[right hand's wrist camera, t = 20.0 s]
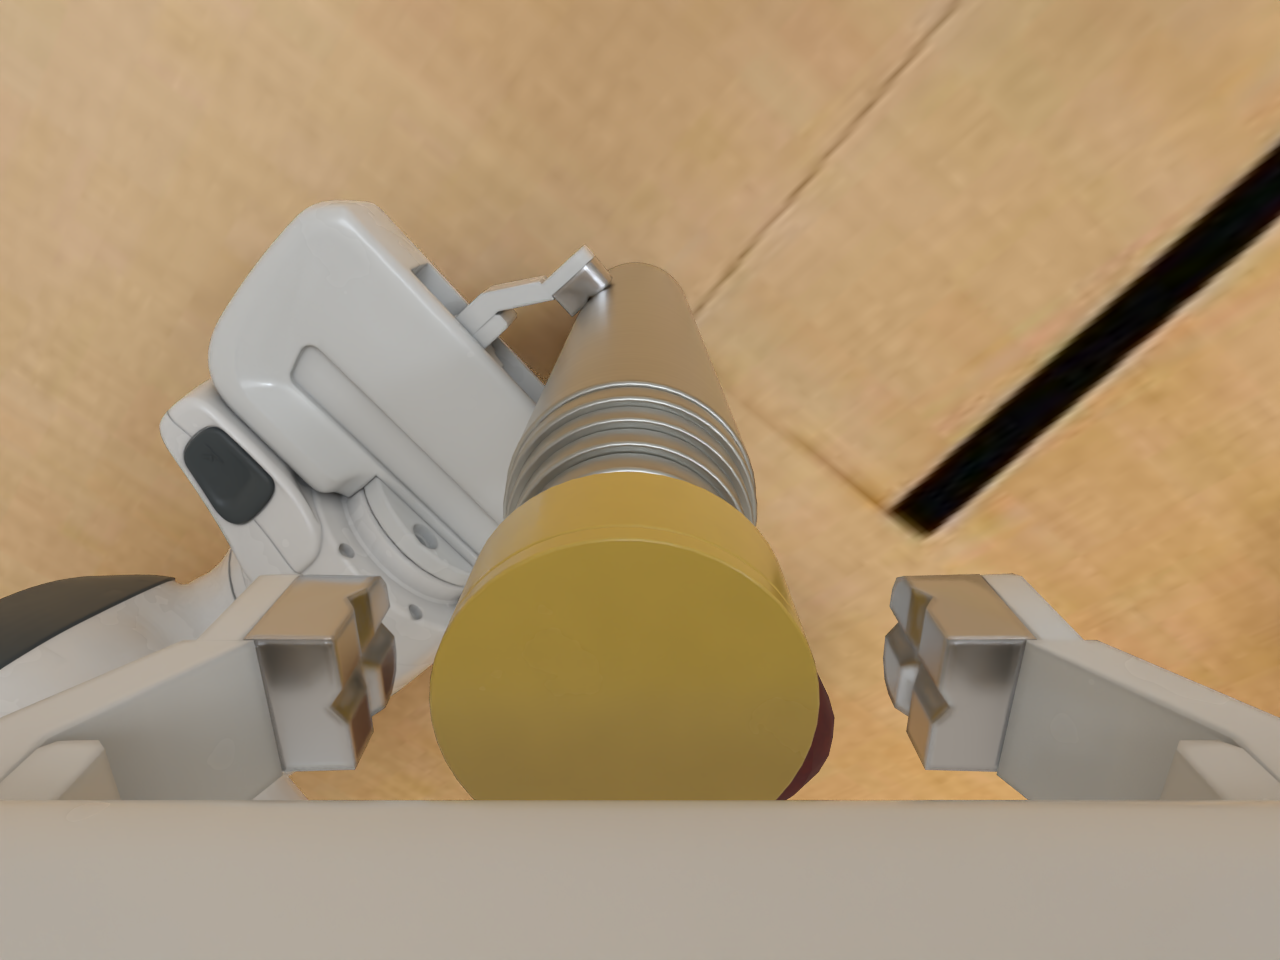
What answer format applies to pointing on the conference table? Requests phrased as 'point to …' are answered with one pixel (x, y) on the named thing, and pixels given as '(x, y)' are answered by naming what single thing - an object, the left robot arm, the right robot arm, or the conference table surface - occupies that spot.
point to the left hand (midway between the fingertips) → (653, 326)
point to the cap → (625, 652)
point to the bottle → (633, 399)
